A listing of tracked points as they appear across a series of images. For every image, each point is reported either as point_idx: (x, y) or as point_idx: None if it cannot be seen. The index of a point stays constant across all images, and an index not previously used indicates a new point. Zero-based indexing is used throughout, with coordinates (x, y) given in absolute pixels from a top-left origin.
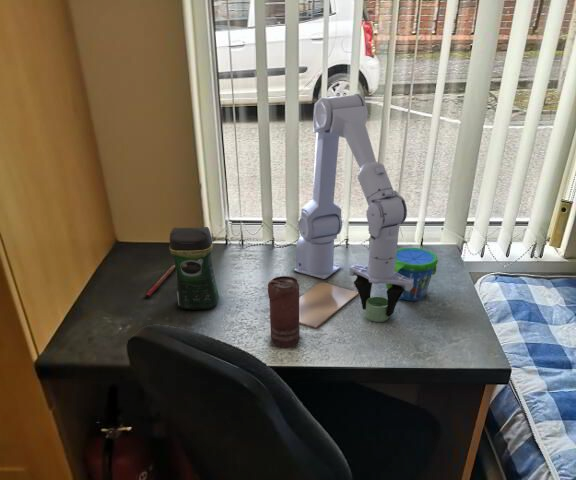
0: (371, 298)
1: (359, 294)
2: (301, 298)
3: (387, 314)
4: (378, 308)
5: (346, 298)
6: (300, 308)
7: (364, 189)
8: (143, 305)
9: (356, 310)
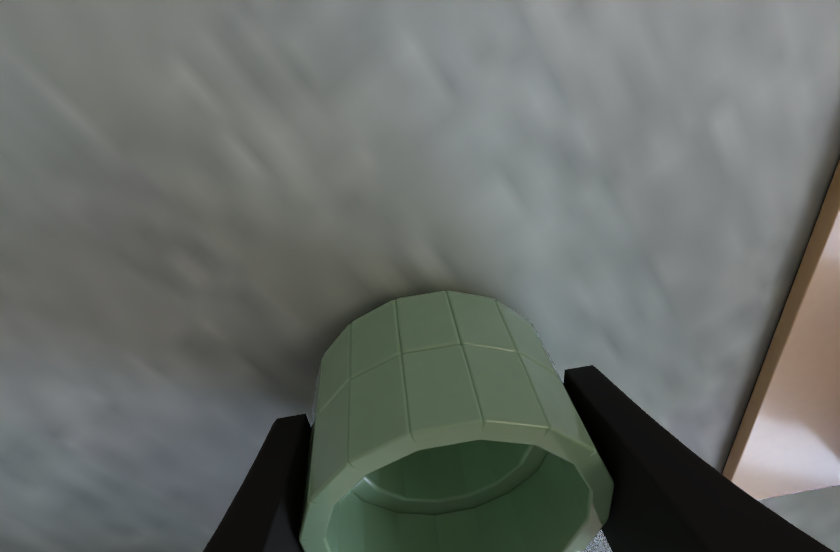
0: (575, 523)
1: (767, 510)
2: None
3: (291, 430)
4: (365, 439)
5: (789, 413)
6: None
7: None
8: None
9: (645, 343)
